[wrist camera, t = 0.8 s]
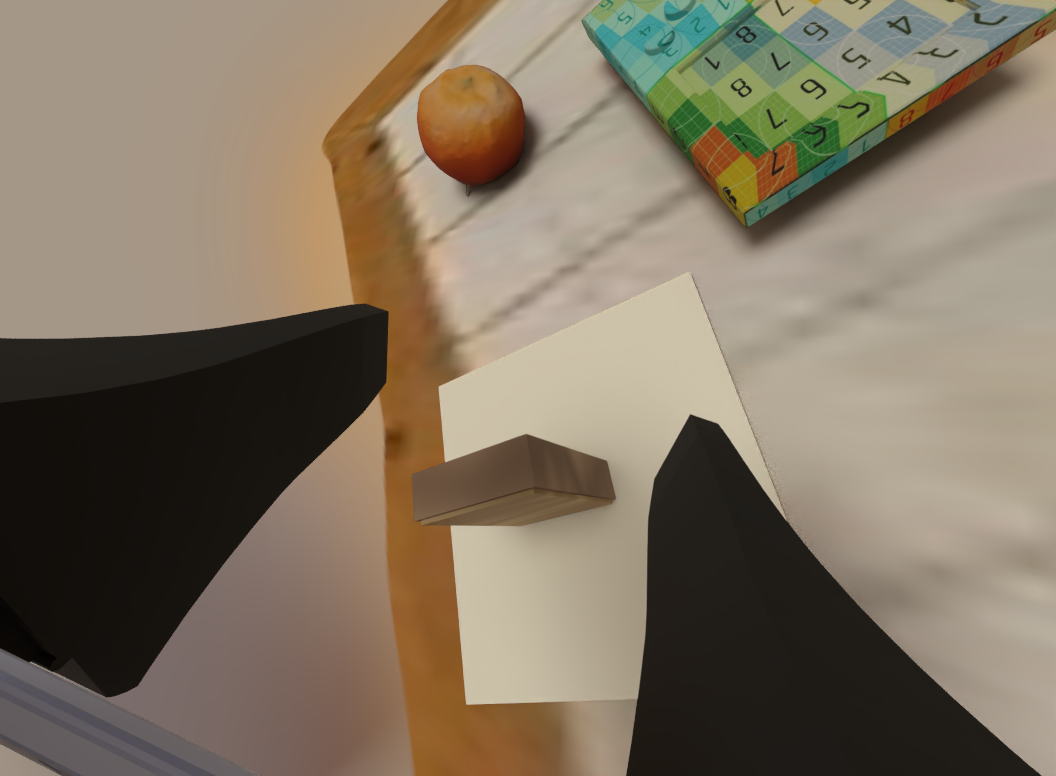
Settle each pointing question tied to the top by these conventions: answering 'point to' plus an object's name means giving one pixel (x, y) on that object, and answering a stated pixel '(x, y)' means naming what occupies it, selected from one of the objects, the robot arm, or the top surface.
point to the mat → (592, 535)
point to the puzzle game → (801, 77)
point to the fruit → (471, 124)
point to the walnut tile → (511, 485)
